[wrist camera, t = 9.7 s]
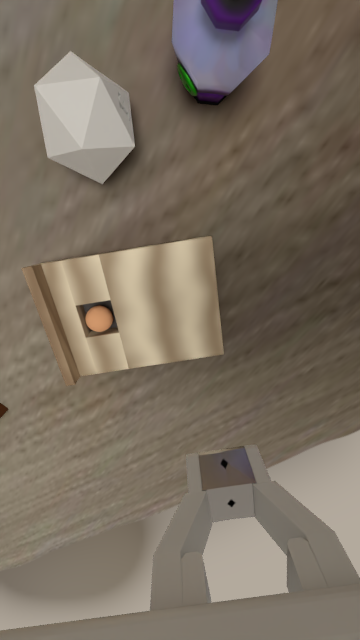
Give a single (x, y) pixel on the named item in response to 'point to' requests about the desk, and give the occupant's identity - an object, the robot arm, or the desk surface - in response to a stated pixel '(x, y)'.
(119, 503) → the desk surface
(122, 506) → the desk surface
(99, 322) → the ball
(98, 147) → the die
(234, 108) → the desk surface
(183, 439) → the desk surface
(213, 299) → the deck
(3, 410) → the hardcover book
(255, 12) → the potion bottle
